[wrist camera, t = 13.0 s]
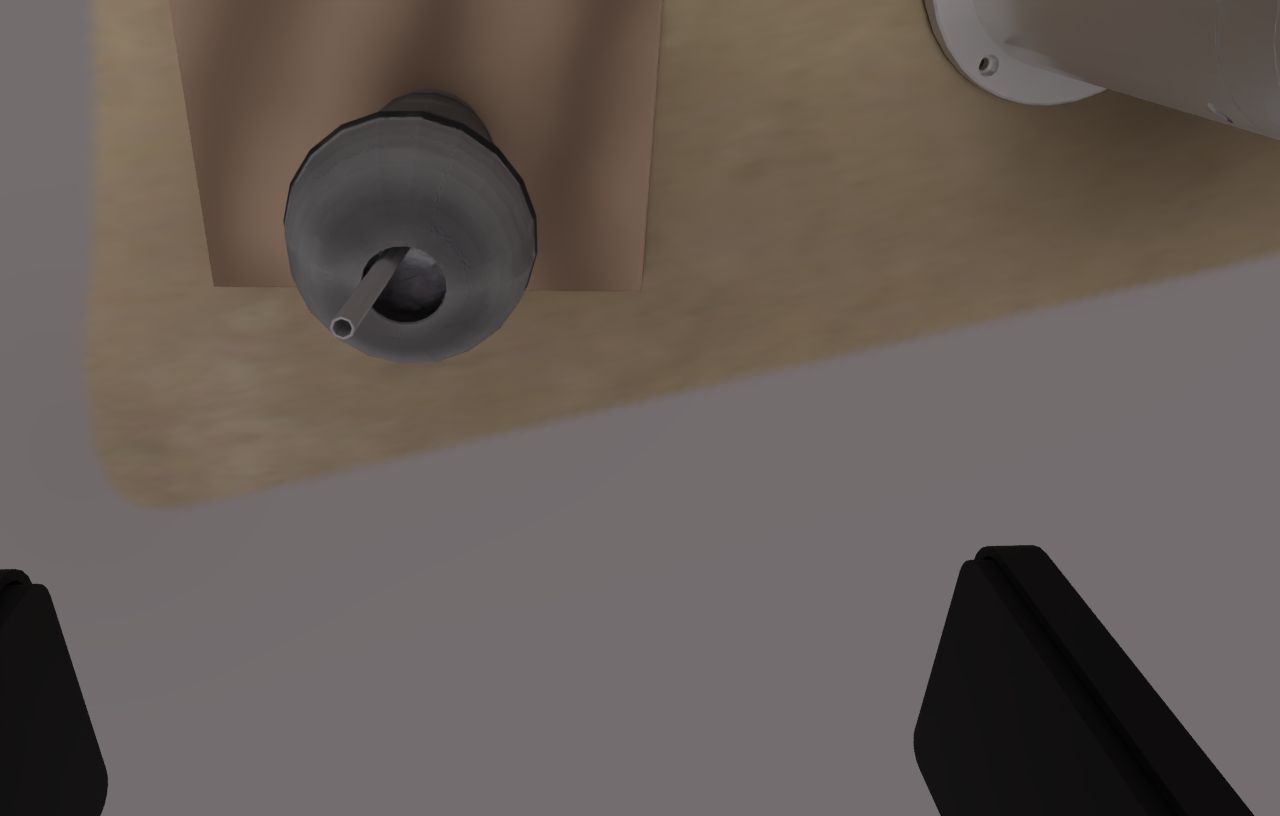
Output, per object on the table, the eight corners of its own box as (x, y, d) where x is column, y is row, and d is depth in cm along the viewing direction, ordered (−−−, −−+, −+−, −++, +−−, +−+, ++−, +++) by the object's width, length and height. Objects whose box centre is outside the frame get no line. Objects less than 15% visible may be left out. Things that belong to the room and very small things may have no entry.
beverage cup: (442, 269, 40) (411, 556, 22) (298, 149, 36) (130, 374, 19) (561, 145, 38) (627, 353, 20) (420, 7, 35) (358, 114, 17)
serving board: (656, -4, 37) (663, 0, 36) (636, 279, 43) (641, 291, 41) (176, -35, 34) (164, -33, 33) (222, 273, 40) (214, 286, 38)
